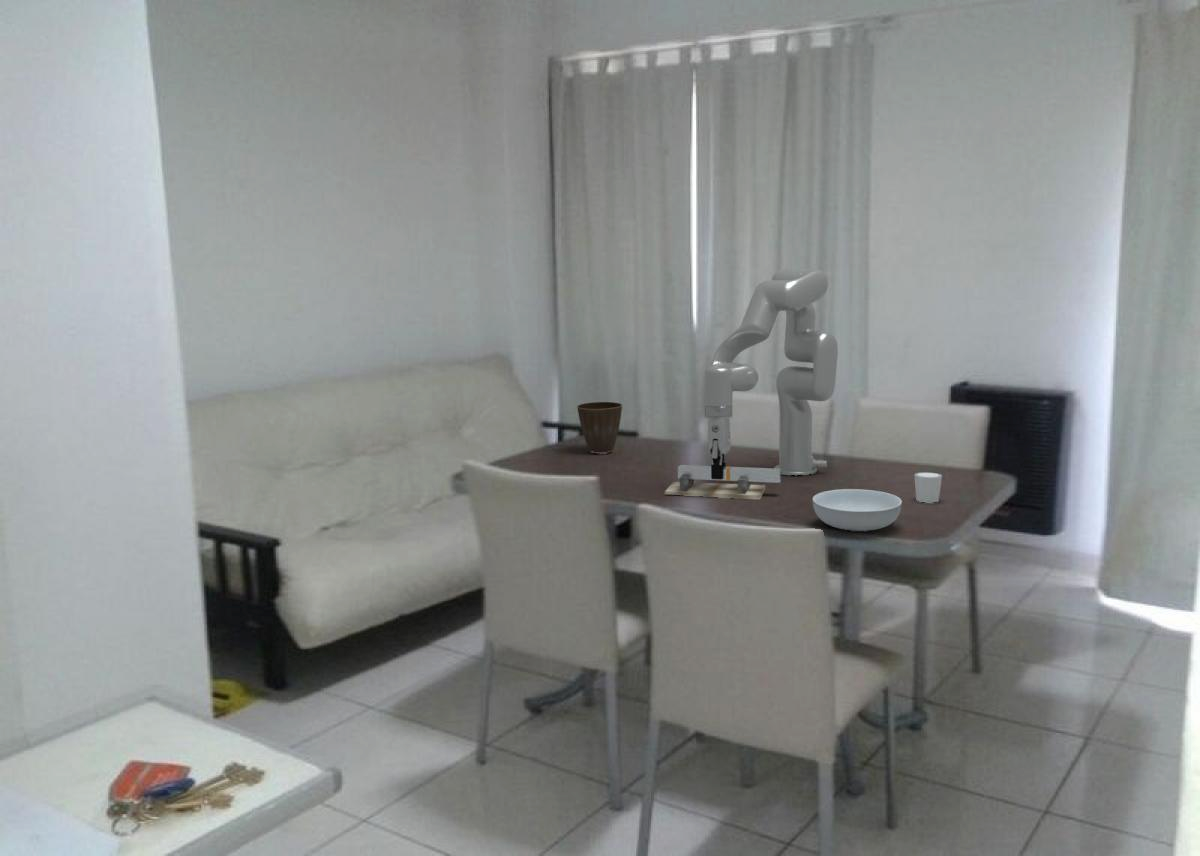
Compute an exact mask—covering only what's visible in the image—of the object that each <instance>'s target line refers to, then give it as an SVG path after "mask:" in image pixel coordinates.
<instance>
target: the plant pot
mask: <svg viewBox="0 0 1200 856" xmlns="http://www.w3.org/2000/svg"><path fill="white" fill-rule="evenodd" d="M576 409H577V413H578V419H579V422H580V428H581V431H582V434H583V437H584V440H585V443H586V445H587V446H586V447H587V448H588V451H589V450H590V451H594V452H608V451H612V450H613V451H614V448H615V444H616V441H617V438H618V434H619V429H620V423H621V418H622V410H623V404H622V403H620V402H611V401H610V402H609V401H594V402H586V403H580V404H579V405H576ZM590 451H589V452H590ZM613 451H612V452H613Z"/></svg>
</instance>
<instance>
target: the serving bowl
mask: <svg viewBox="0 0 1200 856" xmlns="http://www.w3.org/2000/svg"><path fill="white" fill-rule="evenodd" d="M902 504H903V501H902V499H901V498H900V497H898V496H897V495H895V494H892V493H889V492H884V491H880V490H870V489H860V488H859V489H858V488H842V489H832V490H827V491H825V490H824V491H821V492H819V493H816V494H815V495H813V497H812V506H813V510H814V513H815V514H816V516H817V517H818V518H819V520H820V521H822V522H824V524H826V525H829V526H831V527H832V528H836V529H840V530H843V529H844V530H843V531H847V530H851V531H850V532H855V531H864V532H869V530H871V531H875V530H880V529H883V528H886V527H888V526H890V525H892V523H894V522H895V521H896V520H897V518H898V517H899V515H900V513H901V510H902Z"/></svg>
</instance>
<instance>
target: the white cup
mask: <svg viewBox="0 0 1200 856" xmlns="http://www.w3.org/2000/svg"><path fill="white" fill-rule="evenodd" d="M942 479H943V476H942V474H940V473H937V472H926V471H924V472H923V471H922V472H916V473H914V485H915V486H914V487H915V500H917V501H916V502H918V501H919V502H918V503H921V502H925V503H924V504H934V503H933V502H937V503H939V500H940V495H941V494H940V493H941V487H942V486H941V485H942Z"/></svg>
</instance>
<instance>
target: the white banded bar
mask: <svg viewBox="0 0 1200 856" xmlns="http://www.w3.org/2000/svg"><path fill="white" fill-rule="evenodd" d="M682 475H683V476H689V479H694V480H702V481H703V480H704V481H705V480H706V481H724V482H725V481H726V482H738V479H739V478H747V481H749V482H750V483H753V482H754V483H777V484H778V483H779V484H780V483H781V482H782V474H781V469H775V468H774V467H773V468H772V467H771V468H770V467H768V468H767V467H749V466H747V467H743V466H729V465H728V466H726V467H723V479H722V480H721V479H712V478H711V465H692V464H691V465H690V464H688V465H687V464H680V465H678V467H677V479H679V480H680V477H681V476H682Z"/></svg>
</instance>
